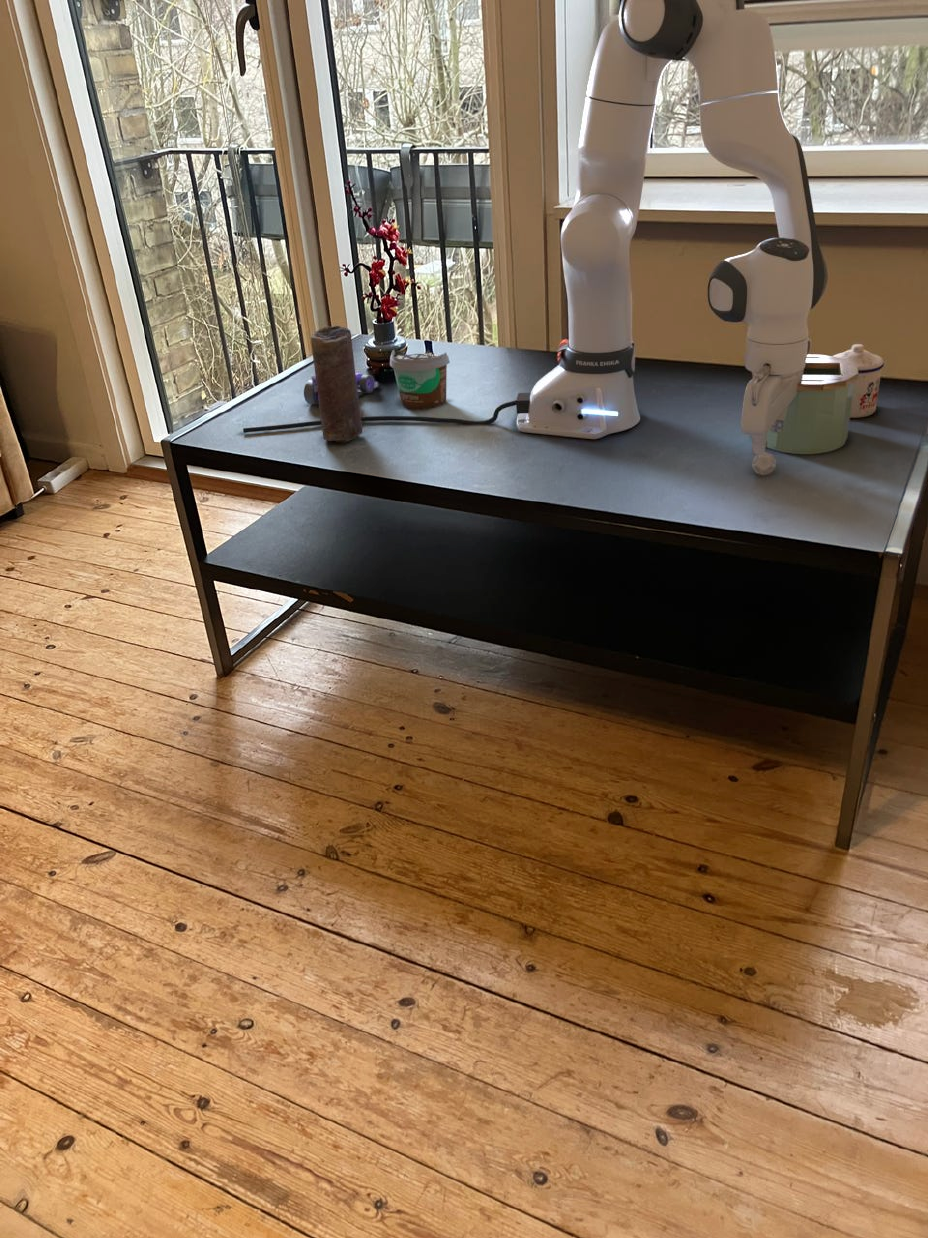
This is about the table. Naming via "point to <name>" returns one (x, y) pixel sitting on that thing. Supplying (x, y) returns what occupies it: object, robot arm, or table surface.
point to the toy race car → (365, 386)
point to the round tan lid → (828, 381)
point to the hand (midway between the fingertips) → (768, 441)
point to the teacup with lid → (864, 380)
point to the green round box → (815, 419)
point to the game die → (764, 464)
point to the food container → (420, 379)
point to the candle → (336, 383)
